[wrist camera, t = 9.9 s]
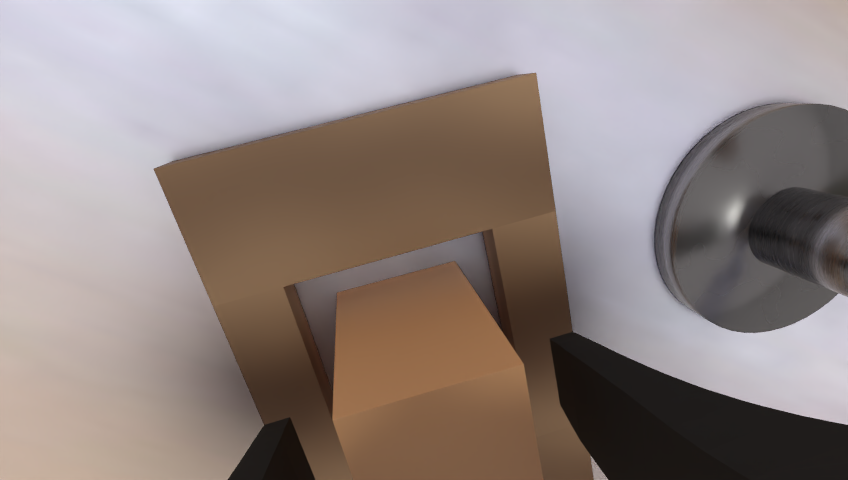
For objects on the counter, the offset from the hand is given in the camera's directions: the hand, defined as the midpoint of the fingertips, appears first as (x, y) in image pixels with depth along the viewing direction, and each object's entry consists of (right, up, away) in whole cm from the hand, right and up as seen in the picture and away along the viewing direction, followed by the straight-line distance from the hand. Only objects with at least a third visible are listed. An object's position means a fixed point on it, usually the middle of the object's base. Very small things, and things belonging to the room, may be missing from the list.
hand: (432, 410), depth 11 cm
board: (0, +1, +3) cm, 3 cm away
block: (-1, +1, +3) cm, 3 cm away
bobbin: (+10, +5, +3) cm, 12 cm away
